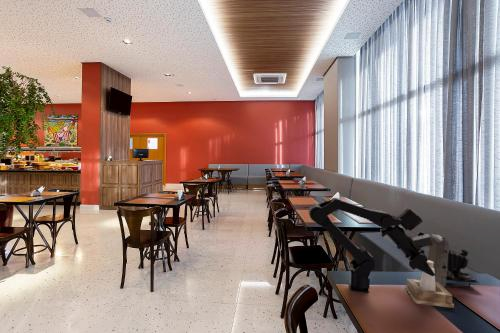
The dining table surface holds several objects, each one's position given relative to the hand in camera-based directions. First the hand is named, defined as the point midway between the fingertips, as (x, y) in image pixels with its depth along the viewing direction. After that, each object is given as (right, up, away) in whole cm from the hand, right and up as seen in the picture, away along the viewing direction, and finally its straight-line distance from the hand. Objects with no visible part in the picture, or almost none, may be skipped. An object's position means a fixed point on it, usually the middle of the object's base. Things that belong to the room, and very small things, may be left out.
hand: (432, 273), depth 104 cm
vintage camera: (+16, -9, +13) cm, 22 cm away
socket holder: (-1, -9, +1) cm, 9 cm away
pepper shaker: (-2, -7, +1) cm, 7 cm away
